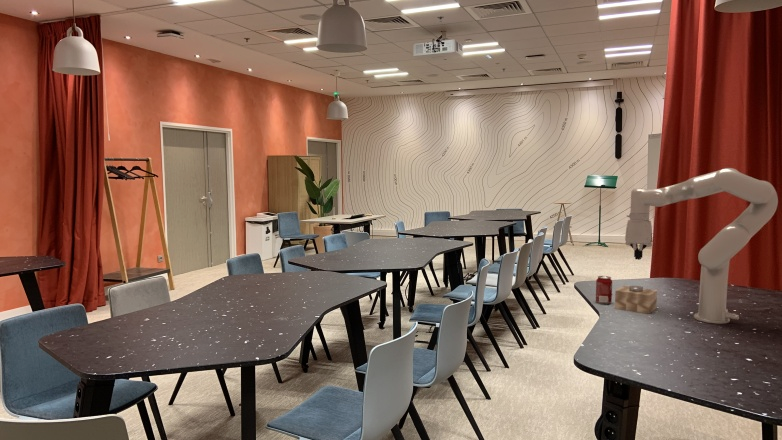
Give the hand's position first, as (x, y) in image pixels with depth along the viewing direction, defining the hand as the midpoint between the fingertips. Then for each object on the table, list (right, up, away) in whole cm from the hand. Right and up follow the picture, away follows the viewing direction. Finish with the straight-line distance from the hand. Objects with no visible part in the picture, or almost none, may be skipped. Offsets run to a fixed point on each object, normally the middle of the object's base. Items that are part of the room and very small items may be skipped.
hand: (638, 259), depth 235 cm
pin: (0, -21, +2) cm, 21 cm away
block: (0, -22, +2) cm, 22 cm away
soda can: (-10, -21, +12) cm, 26 cm away
